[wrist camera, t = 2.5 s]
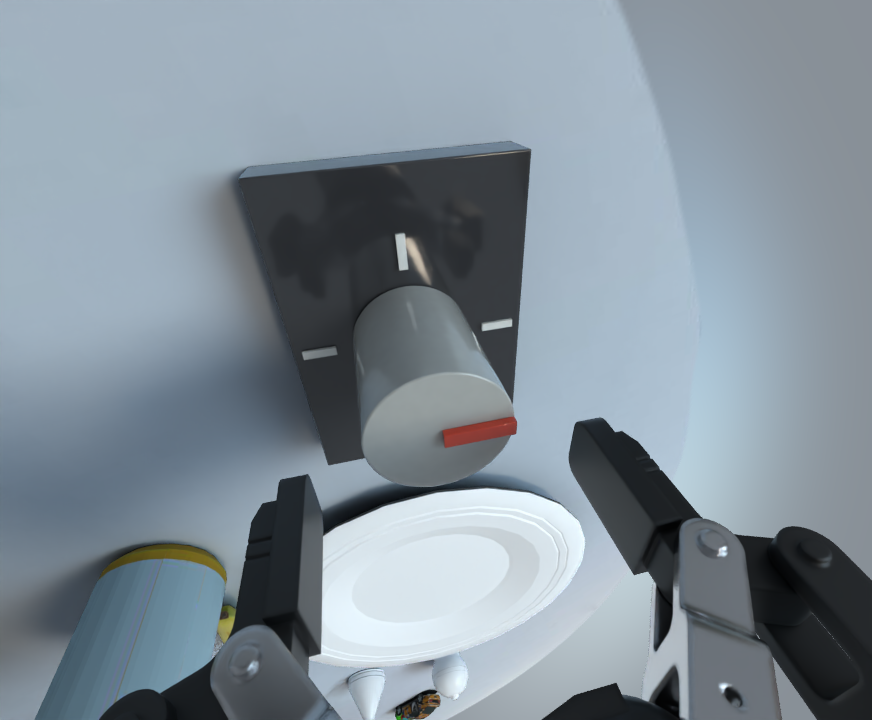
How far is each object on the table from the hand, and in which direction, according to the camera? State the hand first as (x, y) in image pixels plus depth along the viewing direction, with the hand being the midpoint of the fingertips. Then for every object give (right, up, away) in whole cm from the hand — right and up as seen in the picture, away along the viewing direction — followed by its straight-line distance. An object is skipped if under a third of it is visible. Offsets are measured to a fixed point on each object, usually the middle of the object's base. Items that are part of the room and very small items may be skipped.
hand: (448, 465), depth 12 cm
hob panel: (-2, +5, +7) cm, 9 cm away
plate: (-1, -14, +21) cm, 26 cm away
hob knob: (-1, +4, +6) cm, 7 cm away
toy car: (-3, -38, +38) cm, 54 cm away
